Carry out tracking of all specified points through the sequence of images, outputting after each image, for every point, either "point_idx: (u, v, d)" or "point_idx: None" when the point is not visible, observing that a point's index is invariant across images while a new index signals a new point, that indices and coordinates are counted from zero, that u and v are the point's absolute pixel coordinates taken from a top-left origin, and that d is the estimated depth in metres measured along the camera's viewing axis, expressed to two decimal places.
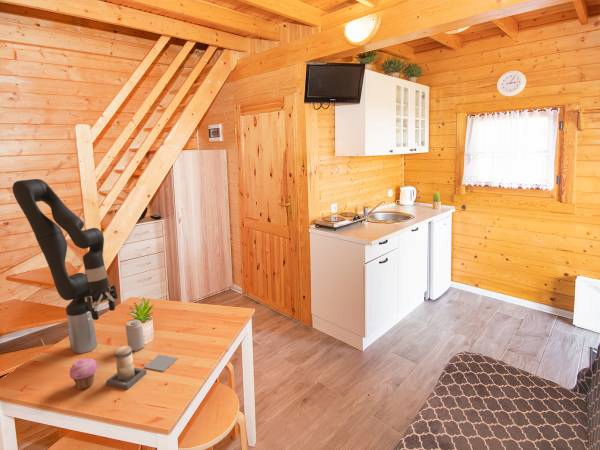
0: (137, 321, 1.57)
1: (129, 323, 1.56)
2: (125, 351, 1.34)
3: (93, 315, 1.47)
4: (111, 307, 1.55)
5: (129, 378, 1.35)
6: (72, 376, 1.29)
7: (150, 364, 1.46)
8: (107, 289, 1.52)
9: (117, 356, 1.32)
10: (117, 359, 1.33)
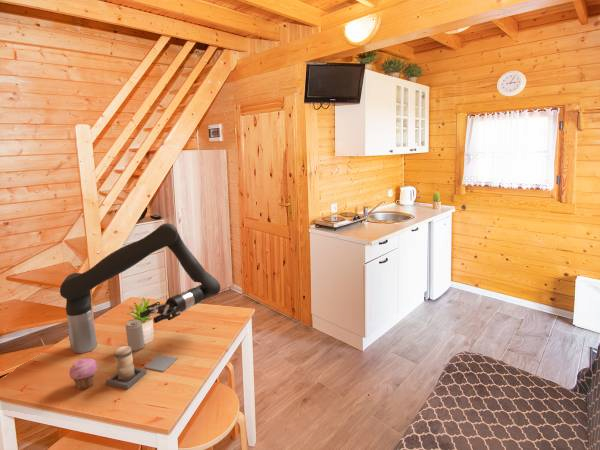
0: (137, 321, 1.57)
1: (129, 323, 1.56)
2: (125, 351, 1.34)
3: (160, 319, 1.41)
4: (144, 314, 1.46)
5: (129, 378, 1.35)
6: (72, 376, 1.29)
7: (150, 364, 1.46)
8: None
9: (117, 356, 1.32)
10: (117, 359, 1.33)
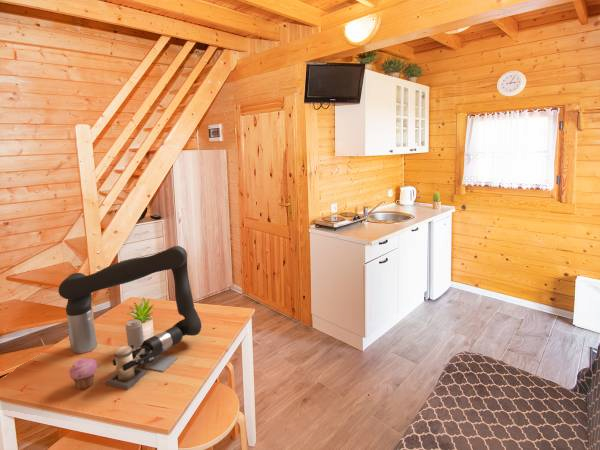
0: (137, 321, 1.57)
1: (129, 323, 1.56)
2: (125, 351, 1.34)
3: (130, 366, 1.34)
4: None
5: (129, 378, 1.35)
6: (72, 376, 1.29)
7: (150, 364, 1.46)
8: None
9: (117, 356, 1.32)
10: (117, 359, 1.33)
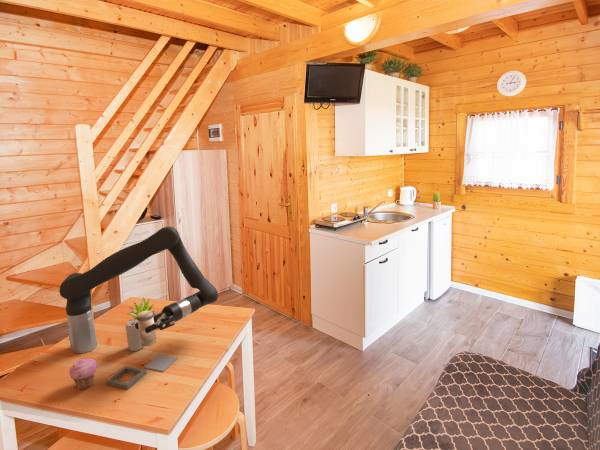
0: (137, 321, 1.57)
1: (129, 323, 1.56)
2: (147, 315, 1.38)
3: (152, 329, 1.38)
4: None
5: (151, 341, 1.39)
6: (72, 376, 1.29)
7: (150, 364, 1.46)
8: None
9: (140, 319, 1.36)
10: (140, 322, 1.37)
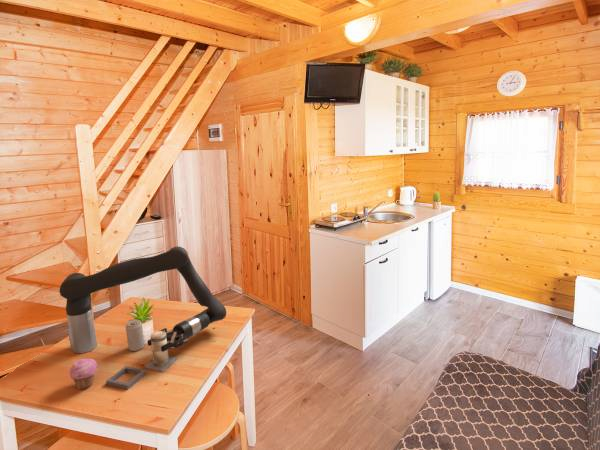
0: (137, 321, 1.57)
1: (129, 323, 1.56)
2: (160, 336, 1.43)
3: (168, 348, 1.43)
4: None
5: (164, 361, 1.45)
6: (72, 376, 1.29)
7: (150, 364, 1.46)
8: None
9: (153, 340, 1.42)
10: (153, 343, 1.42)
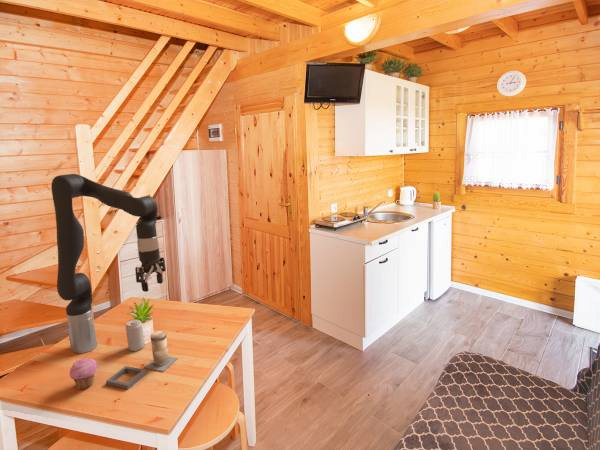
0: (137, 321, 1.57)
1: (129, 323, 1.56)
2: (160, 335, 1.44)
3: (143, 287, 1.41)
4: (159, 280, 1.50)
5: (163, 361, 1.45)
6: (72, 376, 1.29)
7: (150, 364, 1.46)
8: (157, 261, 1.46)
9: (153, 340, 1.42)
10: (153, 342, 1.43)
